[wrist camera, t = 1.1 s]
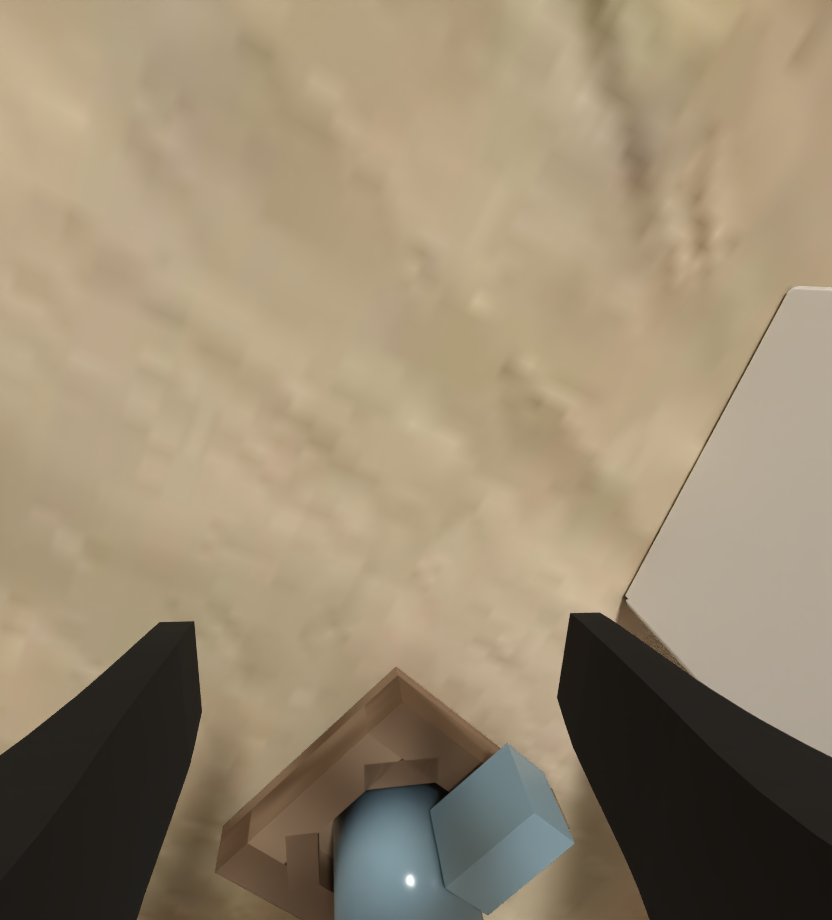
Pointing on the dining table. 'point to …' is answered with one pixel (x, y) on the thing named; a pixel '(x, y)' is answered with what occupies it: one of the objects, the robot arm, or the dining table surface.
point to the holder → (344, 791)
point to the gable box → (758, 537)
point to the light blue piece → (446, 844)
